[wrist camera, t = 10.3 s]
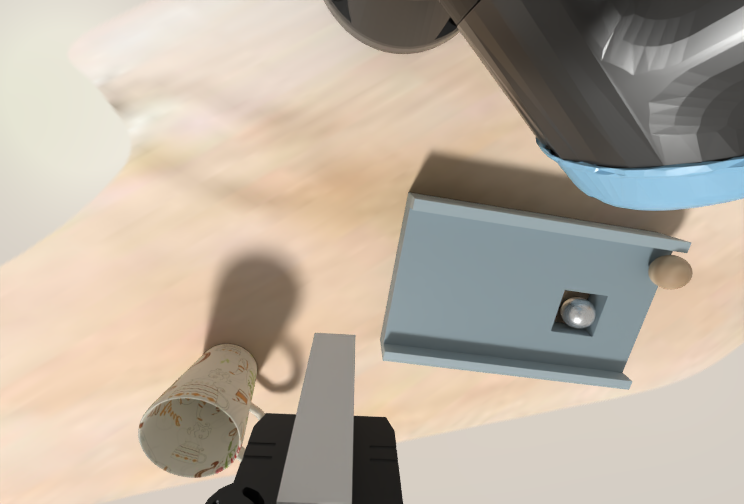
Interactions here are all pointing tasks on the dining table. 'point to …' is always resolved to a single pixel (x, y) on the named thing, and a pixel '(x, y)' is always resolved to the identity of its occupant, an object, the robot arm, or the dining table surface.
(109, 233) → the dining table surface
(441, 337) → the plate
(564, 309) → the steel ball
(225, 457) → the mug
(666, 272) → the cork ball
